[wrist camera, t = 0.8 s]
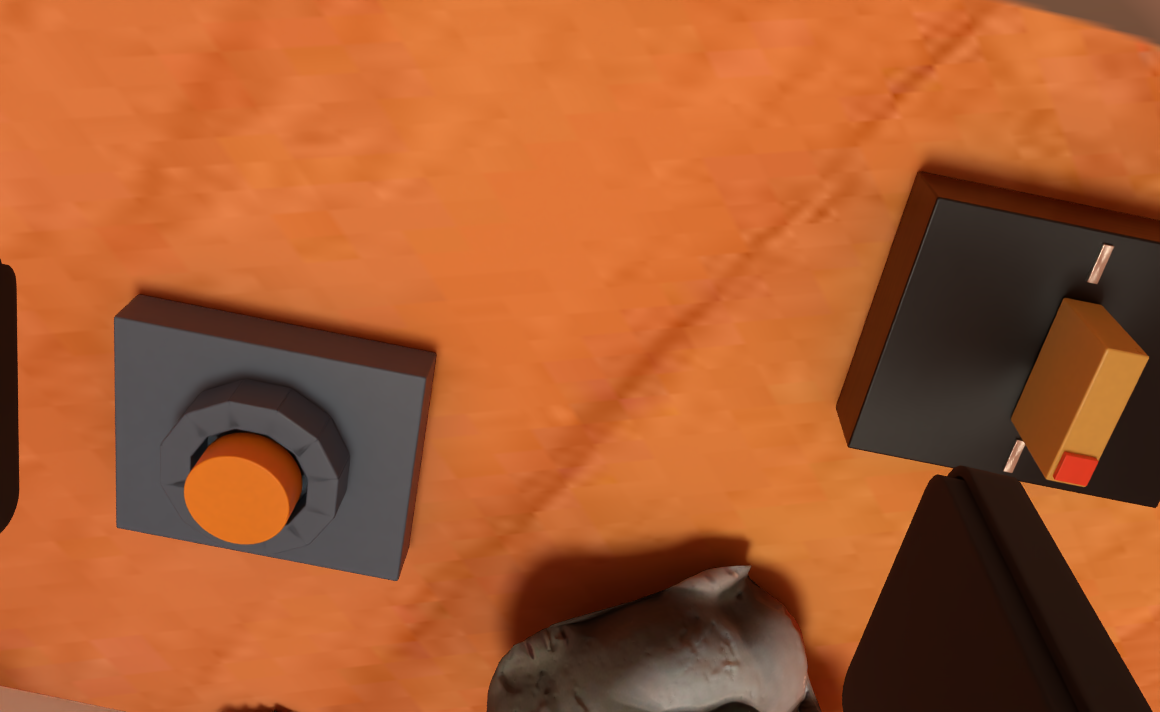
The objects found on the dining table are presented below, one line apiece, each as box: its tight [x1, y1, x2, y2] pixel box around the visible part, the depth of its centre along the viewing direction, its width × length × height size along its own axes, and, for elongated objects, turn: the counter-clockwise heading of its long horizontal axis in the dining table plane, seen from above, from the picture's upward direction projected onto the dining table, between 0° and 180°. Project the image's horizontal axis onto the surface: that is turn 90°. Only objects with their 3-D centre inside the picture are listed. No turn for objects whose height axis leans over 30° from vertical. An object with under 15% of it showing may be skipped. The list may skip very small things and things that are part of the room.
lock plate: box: [836, 171, 1160, 508], centre depth 39 cm, size 10×12×3 cm
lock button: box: [184, 432, 302, 544], centre depth 41 cm, size 4×4×2 cm
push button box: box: [114, 295, 436, 581], centre depth 43 cm, size 10×12×4 cm
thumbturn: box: [1011, 298, 1149, 487], centre depth 36 cm, size 5×1×4 cm, turn 169°
